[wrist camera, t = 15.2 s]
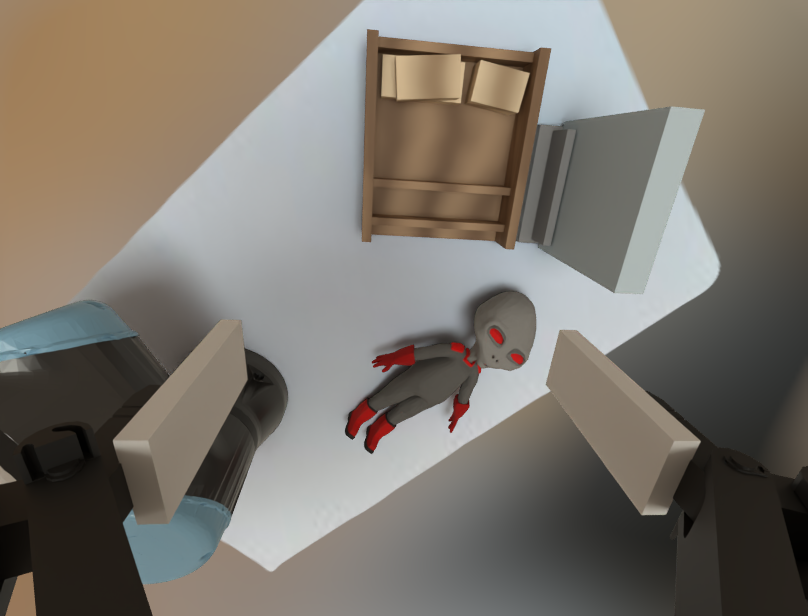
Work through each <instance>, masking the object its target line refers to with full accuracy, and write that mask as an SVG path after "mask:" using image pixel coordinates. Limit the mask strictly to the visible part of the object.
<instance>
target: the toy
mask: <svg viewBox="0 0 808 616" xmlns="http://www.w3.org/2000/svg"><path fill="white" fill-rule="evenodd" d="M474 330H475V335H476V341H475V344H474V346H473V347H472V348H471V349H470V350H469V348H466V349H465V346H464V345H463V344H461V343H455V342H452V343H450V344H447V343H440V344H435V345H432V346H426V347H419V348H414V345H410V346H407V347H405V348H402V349H399V350H398V351H396V352H393V353H390V354H385V355H380V356H377V357H376V359H375V360H373V361H372V363H376V364H375V365H373V367H374V368H375V367H378V366H382V365H384V366H386V367H385V368H384V369H383V370H382V372H386V371H388V370H389V369H390V368H391V367H392V365H394V364H397V365H408V366H409V365H412V366H411V367H410V368H409V369H408V370H406V371H405V372H403V373H402V374H400V375H399V376H397V377H396V378H394V379H393V380H392V381H391V382H390V383H389V384H388V385H387V386H385V387H384V388H383V389H382V390H381V391H380V392H378V393H377V394H376V395H374V396H373V397H372V398H367V399H366V400H365V401H363V402H362V403H361V404H360V405H359V406H358V407H357V408H356V409H355V410H354V411H352V412H350V413H349V416H348V423H347V425H346V428H345V434H346V436H348V437H349V438H350V439H352V440H353V439H354V438H355V436H356V434H357V432H358V430H359V428H360V426H361V425H362V424H363V423H364V422H366V421H367V420H369V419H371V418H372V417H373V416H374V415H375V414H377V412H378V411H379V410H381V409H384V408H386V407H388V406H391V405H393V404H397V403H398V404H397V405H396V406H395V407H394V408H393V409H392V410H391V411H390V412H389V413H385V414H384V415H383V416H381V417H380V418H379V419H377V421H376V422H374V423H373V424H372V425H370V426H368V427H367V431H366V434H367V436H366V439H365V441H364V447H365V449H366V450H367V451H368V452H369V453H371V454H372V453H373V452H374V450H375V449H376V447H377V444H378V442H379V440H380V439H381V438H382V437H383V436H385V435H387V434H388V433H390V432H391V431H392V430H394V428H395V427H396V424H398V423H400V422H402V421H404V420H406V419H408V418H410V417H413V416H415V415H416V414H418V413H420V412H421V411H423V410H426V409H428V408H431V407H433V406H435V405H437V404H440V403H442V402H444V401H445V400H446V399H447V398H448V397H449V396H450V395H451V394H452V393H453V392H454V391H455V390H456V389H457V388H458V387H459V386H460V385H461V384H462V385H461V387H460V390H459V394H457V395H456V396H455V398H454V402H453V409H454V411H453V414H452V416H451V417H450V419H449V422H450V421H452V422H451V424H450V425H449V427H448V428H449V429H450V433H452V431H453V429H454V427H455V425H456V423H457V421H458V419H459V418H460V417H462V416H463V415H464V413H465V412H466V411H467V410H468V408H469V406H470V405H469V398H470V395H471V393H472V391H473V388H474V386H475V385H476V383H477V381H478V377H479V373H481V368H495V369H504V370H508V371H511V370H514V369H518V368H520V367H521V366H522V365H523V364H525V362H526V361H527V360H528V358H529V354H530V351H531V348H532V346H533V342H534V339H535V333H536V313H535V307H534V305H533V303H532V302H531V301H530V300H529V298H528V297H526V296H525V295H523V294H521V293H519V292H514V291H507V292H503V293H500V294H498V295H496V296H494V297H492V298H491V299H489V300H488V301H486V302H484V303H483V304H481V305H480V306H479V307H478V309H477V311H476V313H475V317H474ZM417 360H418V361H417ZM415 361H416V362H415ZM377 362H378V363H377Z"/></svg>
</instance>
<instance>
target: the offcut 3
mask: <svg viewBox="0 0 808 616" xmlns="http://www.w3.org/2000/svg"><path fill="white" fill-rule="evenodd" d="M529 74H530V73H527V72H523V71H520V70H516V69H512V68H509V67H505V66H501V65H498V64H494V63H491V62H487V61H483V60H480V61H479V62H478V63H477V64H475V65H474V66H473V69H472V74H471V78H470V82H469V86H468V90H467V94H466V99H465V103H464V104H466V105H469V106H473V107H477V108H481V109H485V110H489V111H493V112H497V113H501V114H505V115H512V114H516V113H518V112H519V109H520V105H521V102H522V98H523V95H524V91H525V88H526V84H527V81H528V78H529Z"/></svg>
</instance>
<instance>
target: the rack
mask: <svg viewBox="0 0 808 616" xmlns="http://www.w3.org/2000/svg"><path fill="white" fill-rule="evenodd" d="M378 34H379V30H369V29H367V60H366V99H365V137H364V175H363V214H362V242H371V234H374V235H393V236H412V237H430V238H449V239H468V240H487V241H496V242H497V243H498V244H499V245H501V246H502V247H503V248H505V249H514V247H515V241H516V236H517V231H518V225H519V220H520V214H521V209H522V204H523V198H524V193H525V187H526V182H527V177H528V171H529V166H530V160H531V155H532V150H533V144H534V139H535V133H536V128H537V123H538V117H539V112H540V106H541V101H542V96H543V90H544V85H545V80H546V74H547V69H548V63H549V58H550V53H551V49H550V48H539V49H538V50H536V51H534V52H523V51H513V50H504V49H494V48H484V47H475V46H465V45H455V44H446V43H436V42H427V41H417V40H407V39H398V38H388V37H378ZM383 54H386V55H396V56H411V55H451V54H461V62H465V70H464V79H463V88H462V97H461V103H460V104H458V105H448V104H437V103H425V102H396V100H391V99H381V85H382V60H383ZM480 60H483V61H487V62H491V63H494V64H498V65H501V66H505V67H509V68H512V69H516V70H520V71H523V72H527V73H530V74H529V78H528V81H527V84H526V88H525V91H524V95H523V98H522V102H521V105H520V109H519V112H518V113H516V114H512V115H505V114H501V113H497V112H493V111H489V110H485V109H481V108H477V107H473V106H469V105H466V104H464V103H465V99H466V94H467V90H468V86H469V82H470V78H471V74H472V69H473V66H474V65H475V64H477V63H478V62H479V61H480Z"/></svg>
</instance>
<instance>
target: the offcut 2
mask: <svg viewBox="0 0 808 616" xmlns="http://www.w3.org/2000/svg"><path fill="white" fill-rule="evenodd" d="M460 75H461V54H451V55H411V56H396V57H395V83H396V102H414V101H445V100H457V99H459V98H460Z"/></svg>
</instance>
